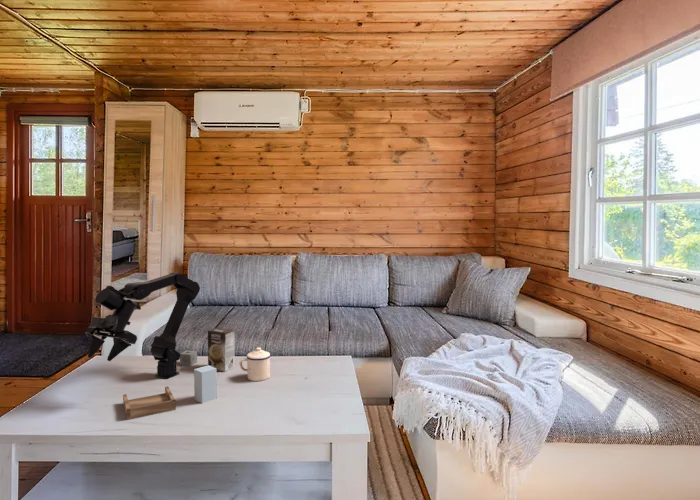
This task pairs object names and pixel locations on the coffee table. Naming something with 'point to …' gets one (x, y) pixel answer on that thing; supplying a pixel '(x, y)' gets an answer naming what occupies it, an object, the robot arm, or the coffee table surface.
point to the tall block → (205, 383)
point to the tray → (149, 404)
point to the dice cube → (188, 358)
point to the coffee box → (221, 349)
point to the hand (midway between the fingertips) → (98, 359)
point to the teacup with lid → (257, 365)
